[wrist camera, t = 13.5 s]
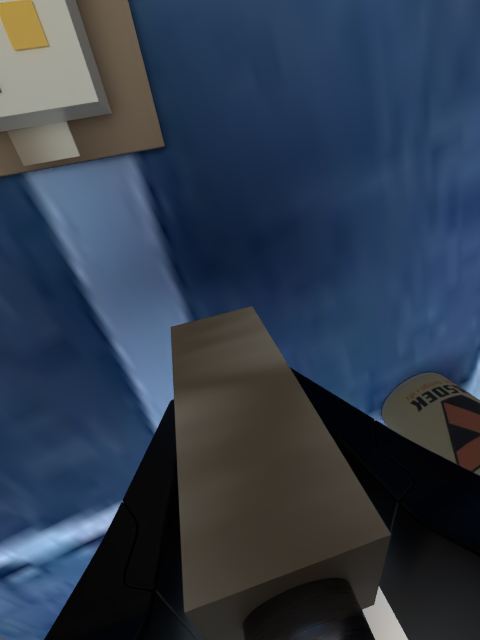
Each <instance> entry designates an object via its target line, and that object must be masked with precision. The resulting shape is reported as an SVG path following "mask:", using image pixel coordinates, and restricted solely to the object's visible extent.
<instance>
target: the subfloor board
mask: <svg viewBox="0 0 480 640" xmlns="http://www.w3.org/2000/svg"><path fill="white" fill-rule="evenodd" d="M76 3H77V6H78V9H79V12H80V15H81V18H82V22H83V25H84V28H85V31H86V34H87V37H88V40H89V43H90V47H91V50H92V53H93V56H94V59H95V62H96V65H97V68H98V71H99V75H100V78H101V81H102V84H103V87H104V90H105V93H106V96H107V100H108V103H109V106H110V109H111V112H112V114H105V115H99V116H93V117H87V118H81V119H75V120H69V121H63V122H57V123H51V124H45V125H39V126H33V127H27V128H21V129H15V130H9V131H3V132H0V177H4V176H10V175H15V174H21V173H26V172H32V171H37V170H43V169H48V168H54V167H59V166H64V165H70V164H75V163H81V162H86V161H92V160H97V159H103V158H108V157H113V156H119V155H124V154H130V153H135V152H141V151H146V150H152V149H157V148H162V147H165V145H164V141H163V137H162V133H161V129H160V125H159V121H158V117H157V113H156V110H155V106H154V102H153V98H152V94H151V90H150V86H149V82H148V78H147V74H146V70H145V66H144V62H143V58H142V54H141V51H140V47H139V43H138V39H137V35H136V31H135V27H134V23H133V19H132V15H131V11H130V7H129V3H128V0H76Z"/></svg>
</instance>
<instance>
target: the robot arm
mask: <svg viewBox="0 0 480 640" xmlns="http://www.w3.org/2000/svg"><path fill="white" fill-rule="evenodd" d="M290 369H291V371H292V372H293V374H294V376H295V377H296V379H297V381H298V382H299V384H300V385H301V387H302V389H303V390H304V392H305V394H306V395H307V397H308V399H309V400H310V402H311V404H312V405H313V407H314V408H315V410H316V412H317V413H318V415H319V417H320V418H321V420H322V422H323V423H324V425H325V427H326V428H327V430H328V431H329V433H330V435H331V436H332V438H333V440H334V441H335V443H336V445H337V446H338V448H339V450H340V451H341V453H342V454H343V456H344V458H345V459H346V461H347V463H348V464H349V466H350V468H351V469H352V471H353V473H354V474H355V476H356V477H357V479H358V481H359V482H360V484H361V486H362V487H363V489H364V491H365V492H366V494H367V496H368V497H369V499H370V500H371V502H372V504H373V505H374V507H375V509H376V510H377V512H378V514H379V515H380V517H381V519H382V520H383V522H384V523H385V525H386V527H387V528H388V530H389V532H390V533H391V537H390V542H389V546H388V550H387V554H386V558H385V562H384V566H383V570H382V574H381V578H380V582H379V586H380V588H381V590H382V592H383V594H384V596H385V597H386V599H387V601H388V603H389V605H390V607H391V608H392V610H393V612H394V614H395V616H396V618H397V619H398V621H399V623H400V625H401V627H402V628H403V631H404V632H405V634H406V636H407V638H408V640H480V475H478V474H476V473H474V472H472V471H470V470H468V469H466V468H464V467H462V466H460V465H458V464H456V463H454V462H452V461H450V460H448V459H446V458H444V457H442V456H440V455H438V454H436V453H434V452H432V451H430V450H428V449H426V448H424V447H422V446H420V445H418V444H417V443H415V442H413V441H411V440H409V439H407V438H405V437H403V436H402V435H400V434H398V433H397V432H395V431H393V430H391V429H390V428H388V427H386V426H385V425H383V424H381V423H380V422H378V421H374V419H373V418H372V417H370V416H368V415H367V414H365V413H363V412H362V411H360V410H359V409H357V408H355V407H354V406H352V405H350V404H349V403H347V402H345V401H344V400H342V399H341V398H339V397H337V396H336V395H334V394H332V393H331V392H329V391H328V390H326V389H324V388H323V387H321V386H319V385H318V384H316V383H315V382H313V381H311V380H310V379H308V378H306V377H305V376H303V375H302V374H300V373H298V372H297V371H295V370H293V369H292V368H290ZM123 502H124V503H123ZM123 502H122V503H121V504H120V506H119V509H118V511H117V513H116V515H115V517H114V519H113V521H112V523H111V525H110V527H109V529H108V531H107V532H106V534H105V536H104V538H103V540H102V542H101V544H100V545H99V547H98V549H97V551H96V553H95V554H94V556H93V558H92V560H91V561H90V563H89V565H88V567H87V568H86V570H85V572H84V573H83V575H82V577H81V578H80V580H79V582H78V584H77V585H76V587H75V589H74V590H73V592H72V594H71V595H70V597H69V599H68V600H67V602H66V604H65V606H64V607H63V609H62V611H61V612H60V614H59V616H58V617H57V619H56V621H55V623H54V624H53V626H52V628H51V629H50V631H49V632H48V634H47V636H46V637H45V639H44V640H206V639H205V638H204V637H203V635H202V634H201V633H200V632H199V630H198V629H197V628H196V627H195V625H194V624H193V623H192V622H191V620H190V619H189V618H188V617H187V616H186V614H185V613H184V598H183V577H182V556H181V534H180V513H179V491H178V470H177V449H176V427H175V406H174V400H171V401H170V403H169V405H168V407H167V409H166V411H165V414H164V416H163V418H162V420H161V422H160V424H159V426H158V428H157V430H156V432H155V434H154V436H153V438H152V440H151V443H150V445H149V447H148V449H147V451H146V453H145V455H144V457H143V459H142V461H141V463H140V465H139V467H138V469H137V472H136V474H135V476H134V478H133V480H132V482H131V484H130V486H129V488H128V490H127V492H126V494H125V496H124V498H123Z"/></svg>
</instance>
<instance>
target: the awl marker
mask: <svg viewBox="0 0 480 640" xmlns="http://www.w3.org/2000/svg"><path fill="white" fill-rule="evenodd" d="M171 342H172V363H173V385H174V406H175V427H176V449H177V470H178V491H179V513H180V534H181V556H182V577H183V598H184V613H185V614H186V616H187V617H188V618H189V619H190V620H191V622H192V623H193V624H194V625H195V627H196V628H197V629H198V630H199V632H200V633H201V634H202V635H203V637H204V638H205V639H206V640H375V638H374V636H373V634H372V632H371V629H370V627H369V625H368V623H367V620H366V618H365V616H364V614H363V611H362V609H364V608H367V607H369V606H372V605H374V603H375V598H376V595H377V590H378V586H379V582H380V578H381V574H382V570H383V566H384V562H385V558H386V554H387V550H388V546H389V542H390V537H391V533H390V532H389V530H388V528H387V527H386V525H385V523H384V522H383V520H382V519H381V517H380V515H379V514H378V512H377V510H376V509H375V507H374V505H373V504H372V502H371V500H370V499H369V497H368V496H367V494H366V492H365V491H364V489H363V487H362V486H361V484H360V482H359V481H358V479H357V477H356V476H355V474H354V473H353V471H352V469H351V468H350V466H349V464H348V463H347V461H346V459H345V458H344V456H343V454H342V453H341V451H340V450H339V448H338V446H337V445H336V443H335V441H334V440H333V438H332V436H331V435H330V433H329V431H328V430H327V428H326V427H325V425H324V423H323V422H322V420H321V418H320V417H319V415H318V413H317V412H316V410H315V408H314V407H313V405H312V404H311V402H310V400H309V399H308V397H307V395H306V394H305V392H304V390H303V389H302V387H301V385H300V384H299V382H298V381H297V379H296V377H295V376H294V374H293V372H292V371H291V369H290V367H289V366H288V364H287V362H286V361H285V359H284V358H283V356H282V354H281V353H280V351H279V349H278V348H277V346H276V344H275V343H274V341H273V340H272V338H271V336H270V335H269V333H268V331H267V330H266V328H265V326H264V325H263V323H262V321H261V320H260V318H259V317H258V315H257V313H256V312H255V310H254V308H253V307H252V306H251V307H247V308H243V309H239V310H235V311H231V312H227V313H223V314H219V315H216V316H212V317H208V318H204V319H200V320H196V321H192V322H188V323H185V324H181V325H177V326H173V327H171Z"/></svg>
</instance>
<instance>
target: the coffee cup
mask: <svg viewBox="0 0 480 640" xmlns="http://www.w3.org/2000/svg"><path fill="white" fill-rule="evenodd" d="M382 418H383V420H384V422H385V424H386V425H387V426H388V428H390V429H391V430H393V431H395V432H397V433H398V434H400V435H402V436H403V437H405V438H407V439H409V440H411V441H413V442H415V443H417V444H418V445H420V446H422V447H424V448H426V449H428V450H430V451H432V452H434V453H436V454H438V455H440V456H442V457H444V458H446V459H448V460H450V461H452V462H454V463H456V464H458V465H460V466H462V467H464V468H466V469H468V470H470V471H472V472H474V473H476V474H478V475H480V400H479V399H477V398H476V397H474V396H473V395H471V394H470V393H468V392H467V391H465V390H464V389H462V388H461V387H459V386H458V385H456V384H455V383H453V382H452V381H450V380H448V379H447V378H445V377H444V376H442V375H440V374H437V373H433V372H426V373H422V374H418V375H415V376H413V377H411V378H409V379H407V380H406V381H404V382H403V383H401V384H400V385H398V386H397V387H396V388H395V389H394V390H393V391H392V392H391V393H390V395H389V396H388V397H387V399H386V400H385V402H384V404H383V407H382Z"/></svg>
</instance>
